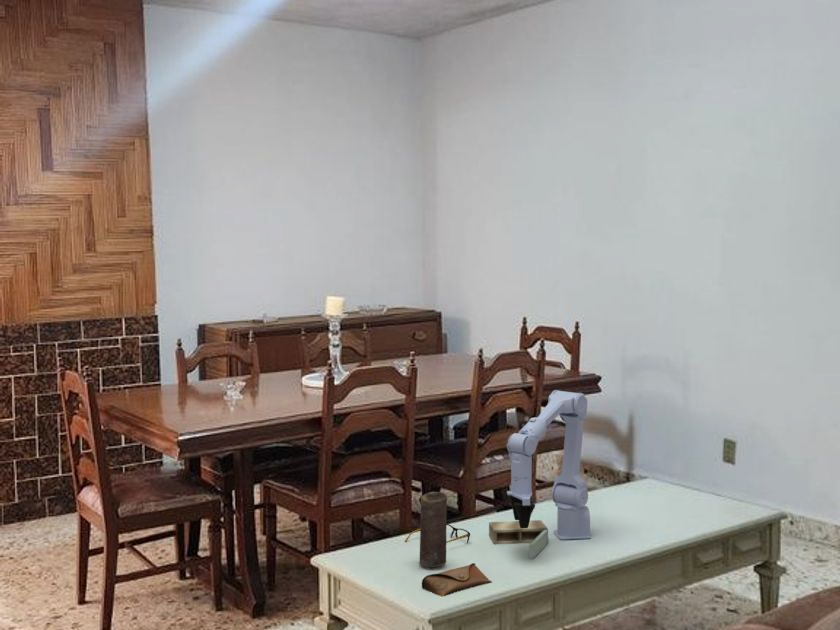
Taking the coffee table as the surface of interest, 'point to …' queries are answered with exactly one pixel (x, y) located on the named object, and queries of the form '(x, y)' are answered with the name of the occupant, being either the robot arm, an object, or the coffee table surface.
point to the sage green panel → (538, 544)
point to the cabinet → (515, 532)
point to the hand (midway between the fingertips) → (521, 523)
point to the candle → (433, 529)
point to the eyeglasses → (451, 534)
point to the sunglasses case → (454, 580)
